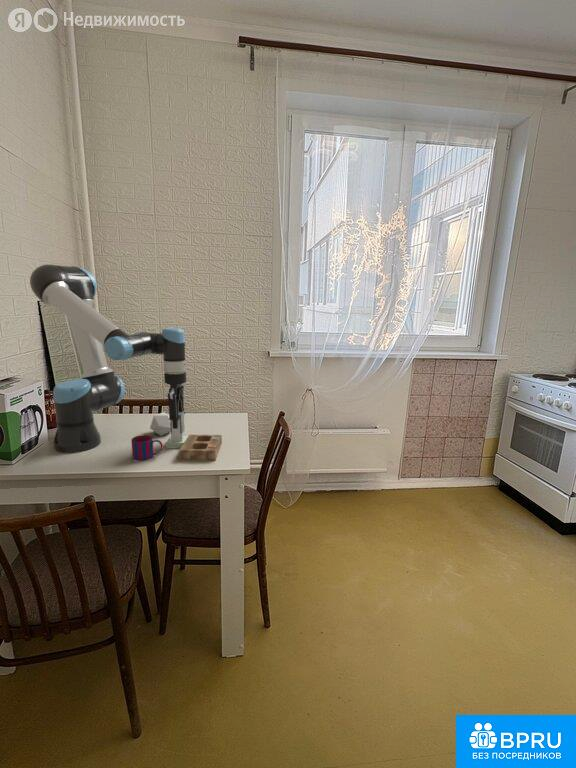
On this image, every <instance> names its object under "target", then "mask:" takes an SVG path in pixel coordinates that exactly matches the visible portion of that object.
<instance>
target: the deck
mask: <svg viewBox="0 0 576 768" xmlns="http://www.w3.org/2000/svg"><path fill="white" fill-rule="evenodd" d="M188 436H189V435H185V438H184V439H183V441H171V436H169V438H168V439H167V440H166V441H165V448H166V449H181V447H182V446H183V444H184V442H185V441H186V439H187V438H188Z"/></svg>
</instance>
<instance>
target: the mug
mask: <svg viewBox="0 0 576 768" xmlns="http://www.w3.org/2000/svg"><path fill="white" fill-rule="evenodd" d="M156 442H157V443H159V445H160V449H159V451H157V452H154V443H156ZM163 446H164V445H163V443H162V441H161V440H159V439H153V436H151V435H149V434H148V435H147V434H144V435H143V434H142V435H136V436H134V437H132V438H131V453H132V459H133V461H136V462H145V461H149V460H152V459H153V458H154V456H155V455H158V454H159V453H161V452H162V451H163Z"/></svg>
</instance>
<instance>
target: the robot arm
mask: <svg viewBox="0 0 576 768" xmlns="http://www.w3.org/2000/svg"><path fill="white" fill-rule="evenodd" d="M29 286H30V288H31V291H32V292H33V294H34V295H35V296H36V298H38V299H39V300H40V301H41V302H43V303H44V304H45V305H47V306H48V307H53V308H55V309H56V310H58V311H59V312H60V313H61V314H63V315H64V316H65V317H67V318H68V320H69V321H68V322H69V325H70V328H71V331H72V335H73V339H74V342H75V346H76V348H77V353H78V357H79V358H80V359H79V360H80V364H81V365H82V370H83V373H82V375H81V376H80V378H74V379H69V380H65V381H62V382H60V383H58V384H56V385H55V386H54V388H53V391H52V392H53V397H52V399H53V403H54V410H55V417H56V419H55V420H56V432H55V435H54V439H53V449H54V451H56V452H58V453H59V452H60V453H77V452H78V453H79V452H83V451H89V450H90V449H93V448H94V449H95V448H96V447H98V446H99V445H100V444H101V442H102V439H101V438H102V437H101V433H100V432H99V430H98V428H97V426H96V424H95V421H94V420H95V419H94V413H95V412H97V411H100V410H103V409H106V408H109V407H112V406H114V405H116V404H118V403H119V402H121V401H122V399H123V398H124V396H125V392H126V389H125V387H126V386H125V384H124V381H123V380H122V378H120V377H119V376H118V375H115V372H114V369H112V368H110V367H109V366H108V362H107V359H106V356H107V358H109V359H111V360H113V361H125V360H128V359H132V358H136V357H142V356H147V355H160V356H161V355H162V356H163V371H164V374H163V375H164V376H163V377H164V384H165V385H169V389H168V393H167V400H168V415H169V420H171V421H172V437H180V419H179V412H184V415H185V414H186V412H185V405H184V403H185V402H184V401H185V400H184V391H185V390H184V387H185V386H184V385H183V384H186V382H187V373H186V371H187V369H186V367H187V366H188V363H187V362H186V339H185V338H186V337H185V331H184V329H182V328H179V327H167V328H166V327H165V328H163V329H162V330H161V333H156V332H147V331H143V332H140V331H139V332H135V333H134V334H127V333H126V332H124V331H123V330H122V329H120V328H119V327H118V326H117V325H115V324H114V323H113V322H112V321H110V320H109V319H108V318H106V317H105V316H104V315H103V314H102V313H100V312H99V311H97V310H96V309H94V308H93V307H92V306H93V304H94V302H95V299H94V297H95V296H96V294H97V292H96V291H98V284H97V281H96V279H95V277H94V275H93V274H92V272H91V271H88V270H87V269H85V268H83V267H78V266H74V265H73V266H67V265H66V266H65V265H56V264H42V265H40V266H37V267H36V268H35V269H34V270H33V271H32V273H31V275H30V278H29ZM103 346H104V347H103ZM105 354H106V355H105Z"/></svg>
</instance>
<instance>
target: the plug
mask: <svg viewBox="0 0 576 768" xmlns="http://www.w3.org/2000/svg"><path fill="white" fill-rule="evenodd" d="M184 412H185V411H183V412H179V419H180V437H172V421H171V420H170V426H171V432H170V437H171V441H183V439H184V438H185V436H186V435H185V414H184Z"/></svg>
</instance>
